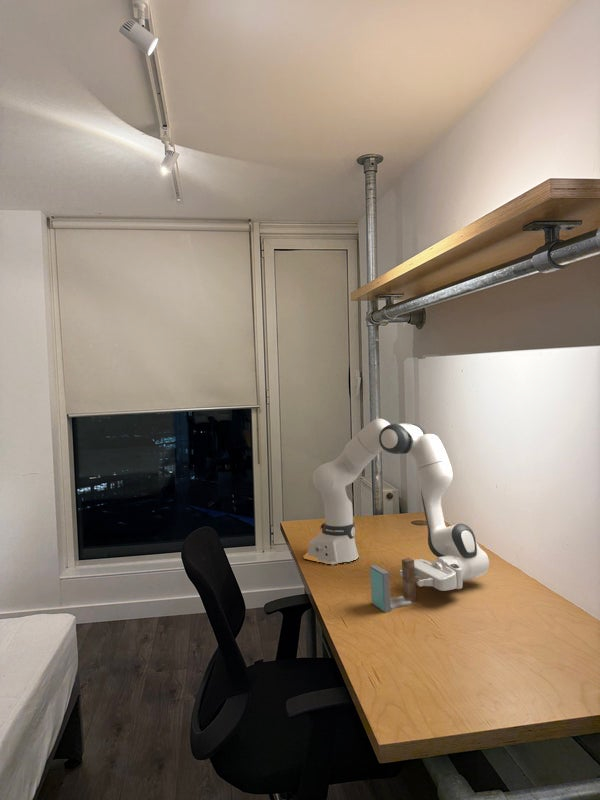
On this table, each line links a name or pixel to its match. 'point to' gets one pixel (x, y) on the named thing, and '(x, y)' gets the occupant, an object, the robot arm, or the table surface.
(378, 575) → the tile
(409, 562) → the brown and white bookend
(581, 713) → the table surface
